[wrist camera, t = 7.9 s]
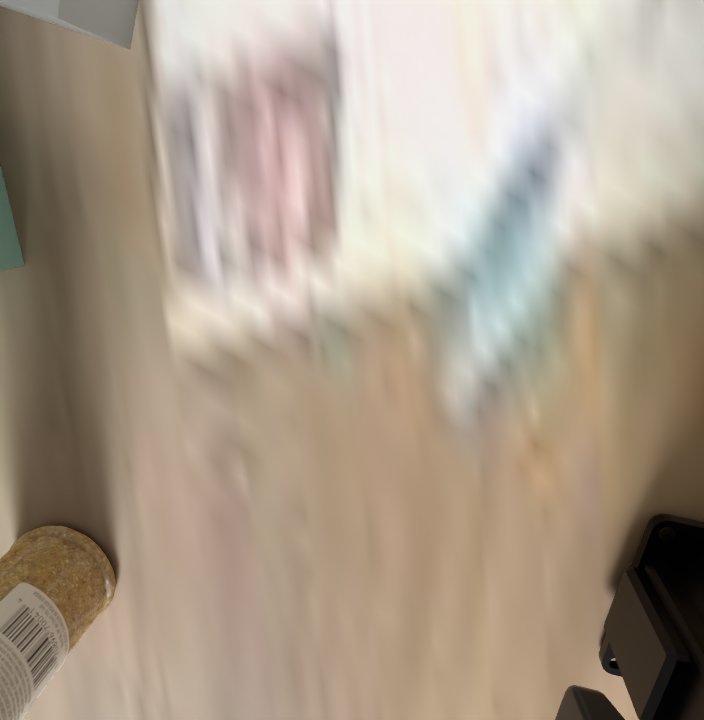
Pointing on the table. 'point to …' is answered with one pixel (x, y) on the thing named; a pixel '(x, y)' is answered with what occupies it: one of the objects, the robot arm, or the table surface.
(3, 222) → the teal block
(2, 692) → the sprinkles bottle
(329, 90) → the table surface
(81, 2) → the grey slab
